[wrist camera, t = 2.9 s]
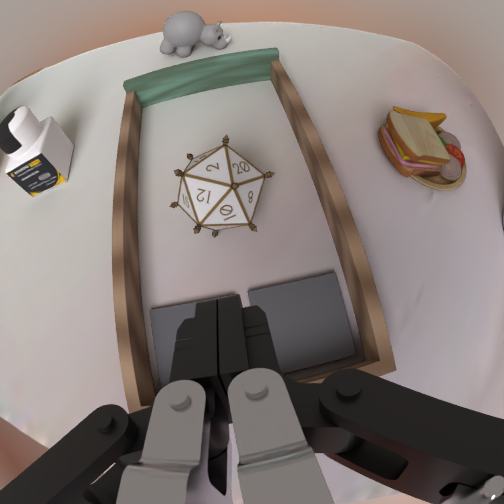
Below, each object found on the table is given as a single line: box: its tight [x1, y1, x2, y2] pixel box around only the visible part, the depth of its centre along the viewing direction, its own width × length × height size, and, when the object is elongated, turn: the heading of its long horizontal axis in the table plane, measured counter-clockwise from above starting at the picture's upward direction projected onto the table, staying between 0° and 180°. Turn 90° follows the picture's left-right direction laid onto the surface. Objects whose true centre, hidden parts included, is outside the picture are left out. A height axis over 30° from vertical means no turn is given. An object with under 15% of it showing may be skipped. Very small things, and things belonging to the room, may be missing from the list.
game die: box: [169, 135, 275, 238], centre depth 25 cm, size 9×8×10 cm
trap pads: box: [150, 272, 356, 389], centre depth 24 cm, size 8×17×1 cm, turn 101°
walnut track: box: [112, 48, 396, 414], centre depth 27 cm, size 40×21×5 cm, turn 11°
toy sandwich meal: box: [378, 106, 466, 191], centre depth 28 cm, size 12×14×5 cm
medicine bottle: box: [0, 106, 74, 197], centre depth 27 cm, size 7×7×12 cm
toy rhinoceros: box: [160, 11, 231, 57], centre depth 37 cm, size 7×12×8 cm, turn 84°
